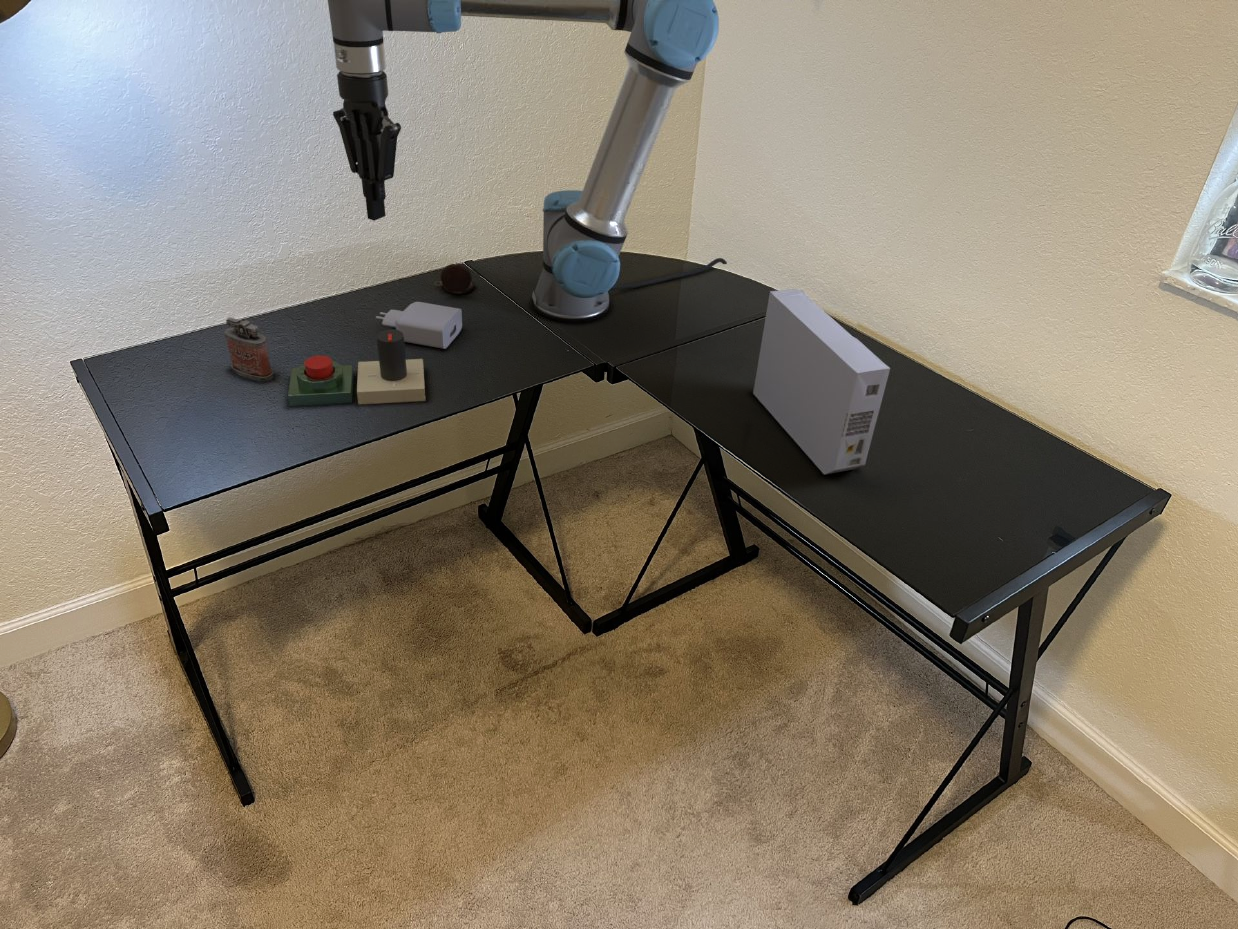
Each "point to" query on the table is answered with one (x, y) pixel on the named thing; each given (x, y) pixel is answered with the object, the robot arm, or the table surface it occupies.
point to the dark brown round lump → (456, 279)
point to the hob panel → (390, 384)
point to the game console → (819, 382)
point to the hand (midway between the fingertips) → (376, 217)
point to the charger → (426, 323)
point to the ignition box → (321, 387)
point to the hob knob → (391, 354)
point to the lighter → (248, 350)
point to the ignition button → (319, 367)
